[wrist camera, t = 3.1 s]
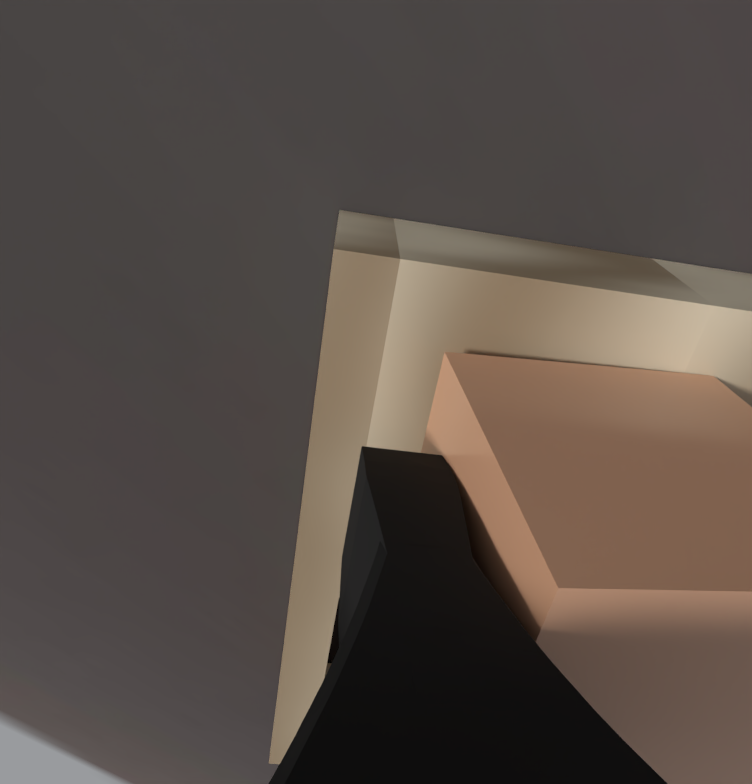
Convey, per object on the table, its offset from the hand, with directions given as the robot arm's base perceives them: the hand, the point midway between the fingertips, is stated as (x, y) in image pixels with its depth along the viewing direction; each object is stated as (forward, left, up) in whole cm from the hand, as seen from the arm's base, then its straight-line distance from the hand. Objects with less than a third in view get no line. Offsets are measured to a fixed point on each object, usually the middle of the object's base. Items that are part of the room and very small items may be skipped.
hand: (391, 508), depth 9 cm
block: (-3, 0, -1) cm, 3 cm away
